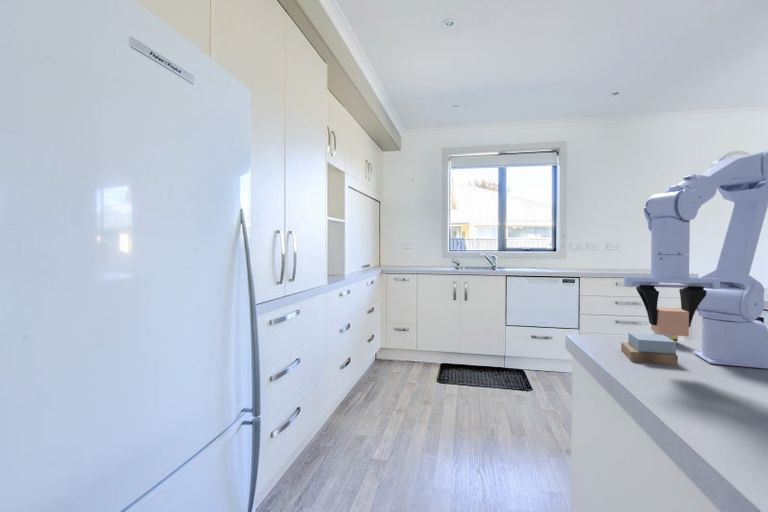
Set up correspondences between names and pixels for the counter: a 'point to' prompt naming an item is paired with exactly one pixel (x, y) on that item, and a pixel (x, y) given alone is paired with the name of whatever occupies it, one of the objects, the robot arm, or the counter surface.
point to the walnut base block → (648, 356)
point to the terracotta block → (672, 322)
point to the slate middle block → (652, 343)
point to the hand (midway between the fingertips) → (669, 325)
